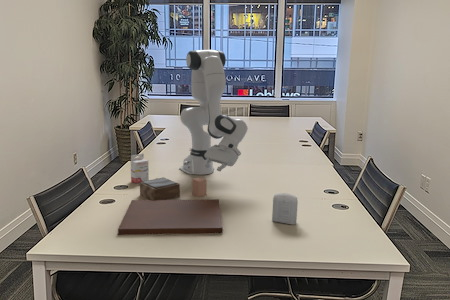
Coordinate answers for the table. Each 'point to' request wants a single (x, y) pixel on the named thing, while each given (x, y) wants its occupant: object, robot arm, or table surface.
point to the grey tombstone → (285, 208)
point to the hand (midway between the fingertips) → (212, 168)
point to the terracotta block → (199, 187)
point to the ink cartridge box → (139, 169)
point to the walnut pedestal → (159, 189)
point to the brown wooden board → (172, 217)
